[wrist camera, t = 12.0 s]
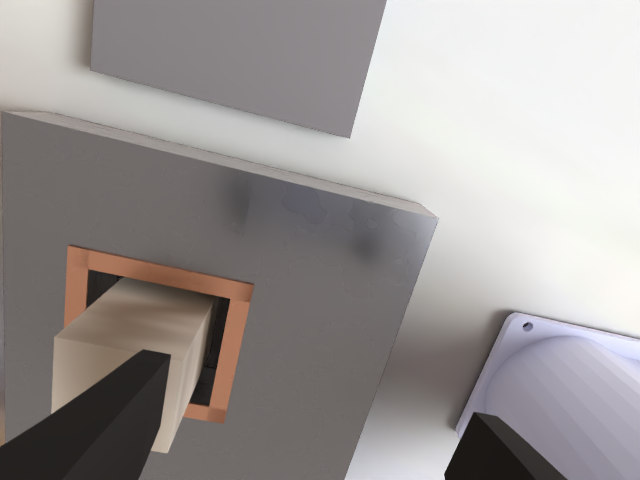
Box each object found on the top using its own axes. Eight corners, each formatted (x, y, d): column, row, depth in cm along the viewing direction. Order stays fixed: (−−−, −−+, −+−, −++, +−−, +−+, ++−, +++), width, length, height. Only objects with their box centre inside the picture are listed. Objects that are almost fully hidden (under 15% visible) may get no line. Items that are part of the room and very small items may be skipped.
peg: (222, 282, 18) (182, 361, 12) (209, 352, 19) (167, 453, 13) (137, 264, 17) (54, 337, 12) (129, 336, 19) (50, 434, 13)
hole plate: (420, 204, 17) (439, 219, 14) (330, 466, 22) (333, 511, 19) (49, 112, 15) (-1, 111, 13) (41, 418, 20) (4, 461, 17)
